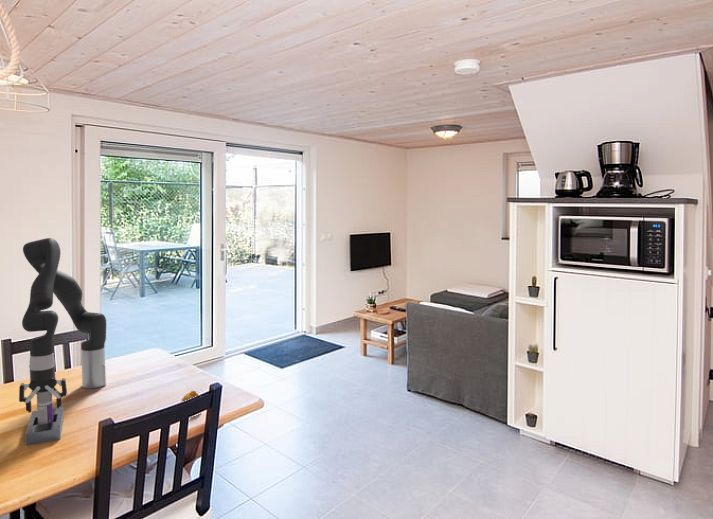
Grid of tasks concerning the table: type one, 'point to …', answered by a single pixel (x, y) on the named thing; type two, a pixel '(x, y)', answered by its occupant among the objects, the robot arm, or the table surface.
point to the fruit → (189, 395)
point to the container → (44, 407)
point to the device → (44, 428)
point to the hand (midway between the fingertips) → (44, 409)
